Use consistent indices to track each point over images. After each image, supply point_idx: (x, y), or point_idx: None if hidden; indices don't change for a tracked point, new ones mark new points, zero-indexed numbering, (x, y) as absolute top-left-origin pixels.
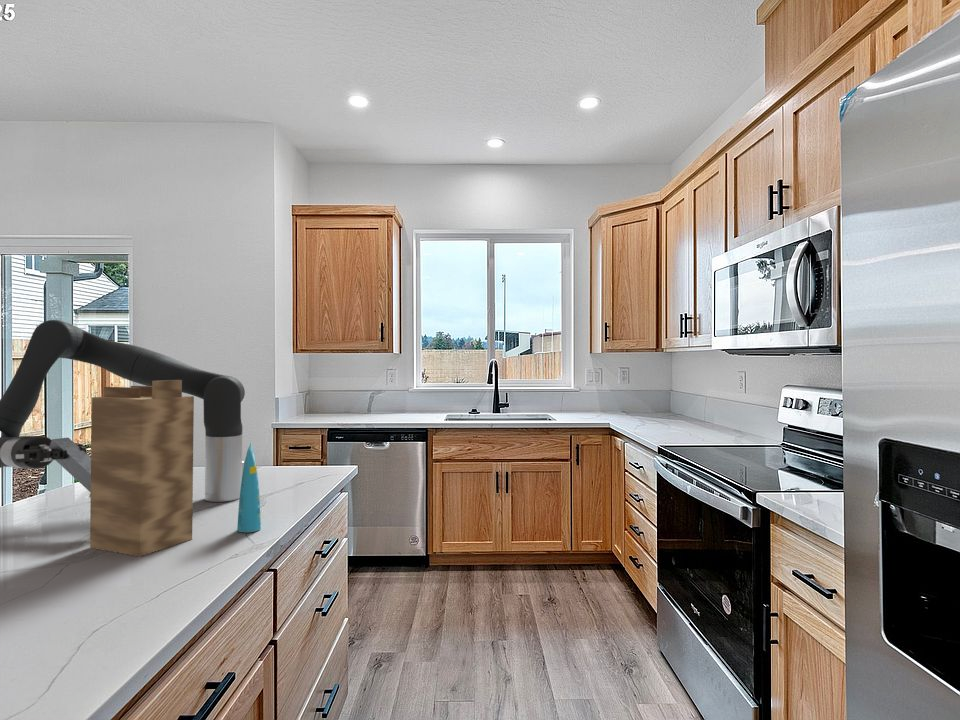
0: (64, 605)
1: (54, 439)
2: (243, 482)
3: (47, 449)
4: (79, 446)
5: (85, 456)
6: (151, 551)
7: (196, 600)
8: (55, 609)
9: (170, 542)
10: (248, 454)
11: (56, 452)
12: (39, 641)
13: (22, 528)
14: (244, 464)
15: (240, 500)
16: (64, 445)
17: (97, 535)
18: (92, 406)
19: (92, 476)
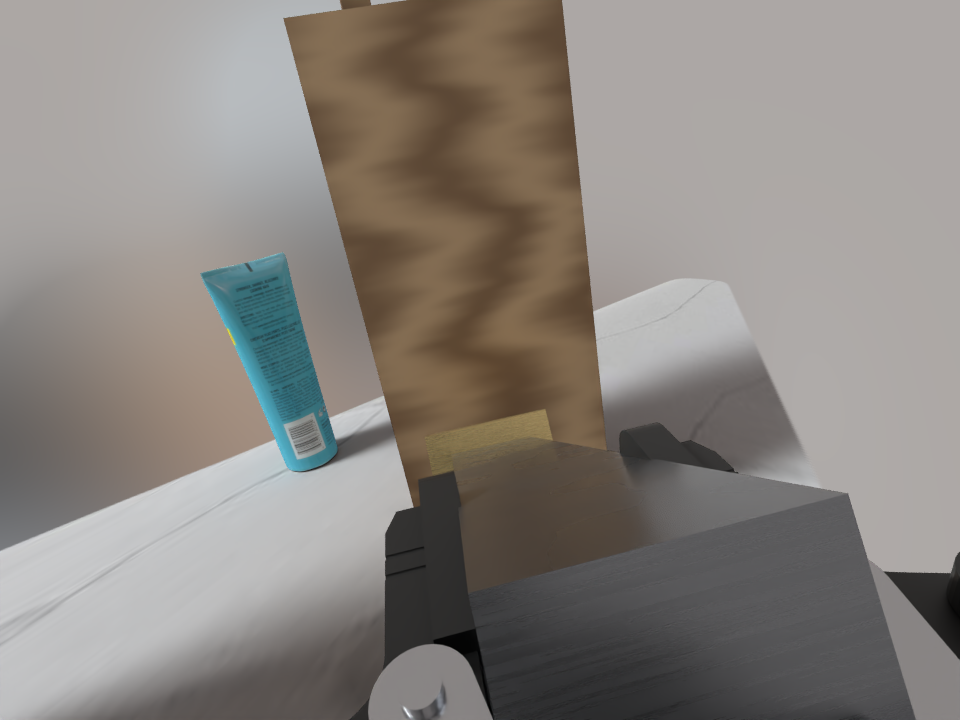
0: (690, 351)
1: (785, 497)
2: (306, 343)
3: (880, 574)
4: (430, 539)
5: (486, 471)
6: None
7: None
8: (701, 348)
9: None
10: (289, 273)
11: (721, 465)
12: (714, 316)
13: None
14: (290, 302)
15: (314, 388)
16: (620, 481)
17: None
18: (562, 27)
19: (590, 316)
